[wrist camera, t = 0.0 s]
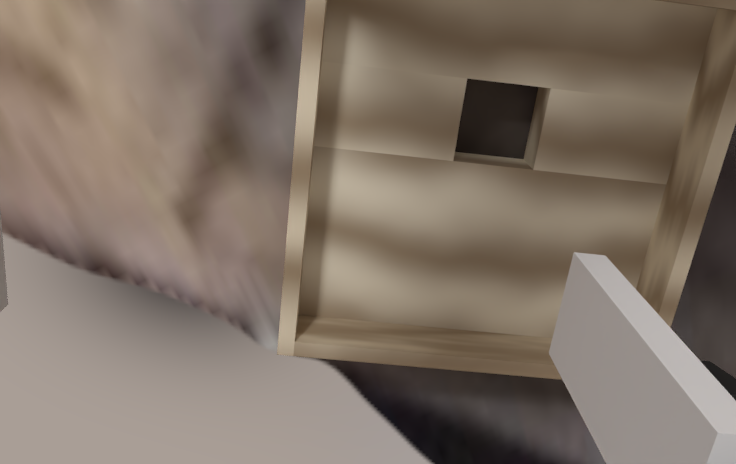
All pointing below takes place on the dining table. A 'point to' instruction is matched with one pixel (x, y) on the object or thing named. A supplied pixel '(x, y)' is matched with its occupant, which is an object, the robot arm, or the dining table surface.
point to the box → (495, 171)
